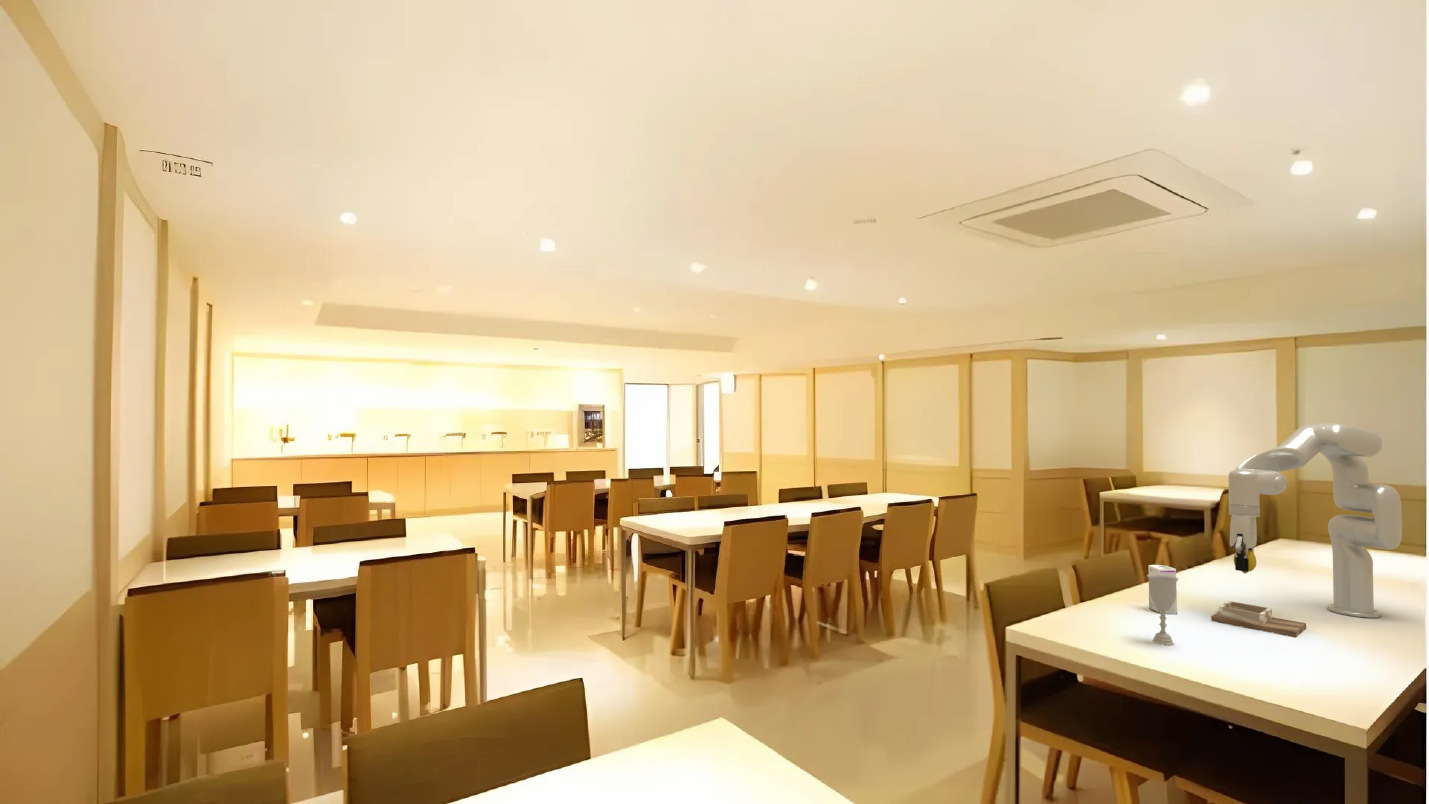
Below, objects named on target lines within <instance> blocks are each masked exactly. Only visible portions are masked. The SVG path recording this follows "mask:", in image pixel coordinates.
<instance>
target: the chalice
mask: <svg viewBox="0 0 1429 804" xmlns="http://www.w3.org/2000/svg"><path fill="white" fill-rule="evenodd" d="M1146 577H1147V578H1148V594H1149V593H1150V596H1151V598H1152V601H1153V602H1154V604H1155V606H1156V608H1157V609H1158V610H1160V611H1161V613H1160V616H1159V619H1160V622H1159V624H1158V625H1159V627H1160V630H1159V632H1156V633H1155V634H1154V636H1153V639H1152V640H1151V641H1152V642H1153V641H1154V642H1153V643H1155V642H1156V643H1155V644H1157V643H1158V645H1161V644H1166V645H1165V646H1173V645H1172V644H1174V645H1175V643H1174V641H1173V639H1172V636H1171V635H1170V634H1169V633H1167V631H1166V627H1167V623H1166V620H1167V617H1166V614H1165V611H1168V610H1169V609H1170V608H1171V606H1172V605H1173V603H1174V601H1175V598H1176V590H1177V582H1178V580H1179V578H1178V577H1177V576H1176V577H1173V576H1168V575H1160V574H1149V573H1148V574H1147V575H1146Z"/></svg>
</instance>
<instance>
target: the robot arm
mask: <svg viewBox="0 0 1429 804" xmlns="http://www.w3.org/2000/svg"><path fill="white" fill-rule="evenodd" d="M1382 448H1383V441H1382V438H1381V436H1380V434H1378V433H1377V432H1376V431H1374V430H1371V429H1368V428H1363V427H1359V426H1355V425H1351V424H1345V423H1335V422H1332V423H1331V422H1330V423H1322V422H1320V423H1319V422H1317V423H1315V422H1314V423H1306V424H1303V425H1301V426H1300V427H1298V428H1297V429H1296V430H1295V431H1293V433H1291V434H1290V435H1289V436H1288V438H1286V439H1285V440H1284V441H1283V442H1282V443H1280V444H1279V445H1278V446H1277V447H1274V448H1271V449H1268V450H1265V451H1263V452H1261V453H1257V454H1255V455H1253V456H1251V457H1248V458H1246V459H1245V460H1243V462H1241V463H1240V464H1239V465H1238V466H1237V467H1235V469H1234V470H1231V471H1230V472H1228V473H1229V474H1228V515H1231V517H1230V525H1229V527H1230V528H1229V546H1230V547H1231V548H1235V551H1234V554H1235V564H1234V566H1235V567H1234V569H1235V570H1236V571H1237V572H1242V571H1244V572H1248V571H1249V559H1248V558H1247V554H1248V550H1250V551H1252V552H1253V553H1255V552H1254V547H1256V546H1257V540H1258V539H1257V538H1258V537H1257V536H1258V535H1257V518H1259V517H1260V516H1261V507H1260V506H1261V505H1260V504H1261V503H1260V500H1261V499H1260V498H1261V497H1260V495H1269V496H1276V495H1279V494H1282V493H1283V492H1285V491H1286V489H1287V488H1288V483H1289V482H1288V480H1287V478H1286V476H1285V475H1284V474H1283V473H1281V472H1285V471H1290V470H1295V469H1301V468H1302V467H1304V466H1305V465H1307V464H1308V463H1309V461H1311V460H1312V459H1313V458H1315V456H1317V454H1319V453H1320V454H1321V455H1323V456H1324V457H1325V458H1326V460H1327V461H1328V462H1329V464H1330V465H1331V469H1332V486H1333V487H1332V492H1333V493H1332V494H1333V503H1334V504H1335V506H1336V507H1337V508H1339V509H1341V510H1344V511H1351V512H1358V513H1359V512H1360V513H1367V514H1372V515H1373V517H1371V516H1365V515H1355V514H1338V515H1337V514H1336V515H1335V516H1334V515H1333V516H1332V518H1330V520H1329V521H1328V524H1327V530H1328V534H1329V539H1330V542H1331V544H1330V545H1331V550H1332V551H1331V552H1332V582H1333V583H1332V585H1333V586H1332V590H1333V591H1332V593H1333V603H1332V604H1331V603H1329V604H1327V605H1326V607H1327V610H1329V611H1330V612H1334V613H1336V614H1340V615H1346V616H1351V617H1358V618H1368V619H1369V618H1370V619H1376V618H1377V619H1378V618H1381V616H1382V613H1381V612H1380V611H1379V610H1376V609H1374V607H1375V603H1374V599H1375V597H1374V560H1373V557H1372V555H1371V554H1370V552H1369V551H1368V549H1367V548H1374V549H1378V550H1379V549H1381V550H1393V549H1396V548H1398V547H1399V546H1400V544H1401V542H1402V538H1403V520H1402V519H1403V518H1402V517H1403V516H1402V513H1403V512H1402V500H1401V499H1402V498H1401V496H1400V493H1399V492H1398V490H1396V488H1394V487H1393V486H1391V485H1388V484H1385V483H1372V482H1371V483H1370V479H1369V468H1368V465H1367V463H1366V461H1365V460H1364V459H1363V458H1365V457H1366V458H1367V457H1368V458H1369V457H1373V456H1376V455H1378V454H1379V453H1380V452H1381V450H1382ZM1243 550H1245V552H1244V551H1243ZM1248 573H1249V572H1248Z"/></svg>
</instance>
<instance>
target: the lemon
mask: <svg viewBox="0 0 1429 804" xmlns="http://www.w3.org/2000/svg"><path fill="white" fill-rule="evenodd" d="M1243 551H1244V552H1245V550H1243ZM1254 553H1255V552H1254ZM1254 553H1253V552H1252V551H1250V550H1248V554H1247V558H1248V559H1249V571H1248V572H1244V571H1241V572H1242V573H1243V574H1248V573H1249V572H1252V571H1254V570H1255V568H1256V566H1257V558H1256V555H1255V554H1254ZM1233 554H1234V555H1233V564H1234V565H1235V553H1233Z"/></svg>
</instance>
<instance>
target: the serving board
mask: <svg viewBox="0 0 1429 804" xmlns="http://www.w3.org/2000/svg"><path fill="white" fill-rule="evenodd" d="M1218 607H1219V611H1217V612H1216V613H1214V614H1212V615H1211V616H1210V619H1211V620H1210V622H1214V621H1215V623H1220V624H1225V623H1226V624H1225V625H1230V626H1236V627H1240V626H1243V627H1242V628H1245V627H1246V629H1250V628H1251V629H1250V630H1255V629H1258V630H1257V631H1260V630H1263V631H1262V632H1266V631H1267V633H1271V632H1274V633H1273V634H1276V633H1278V634H1277V635H1282V636H1286V635H1288V636H1287V637H1293V638H1297V637H1298V636H1299V635H1300V634H1302V633H1303V632H1304V631H1305V630H1306V629H1307V623H1306V622H1300V621H1296V620H1291V619H1286V618H1285V619H1283V618H1279V617H1274V616H1273V615H1272V614H1273V608H1271V607H1265V606H1260V605H1253V604H1250V603H1249V604H1248V603H1243V602H1237V601H1233V600H1232V601H1230V600H1229V601H1227V602H1225V603H1223V604H1221V605H1220V606H1218Z"/></svg>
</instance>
